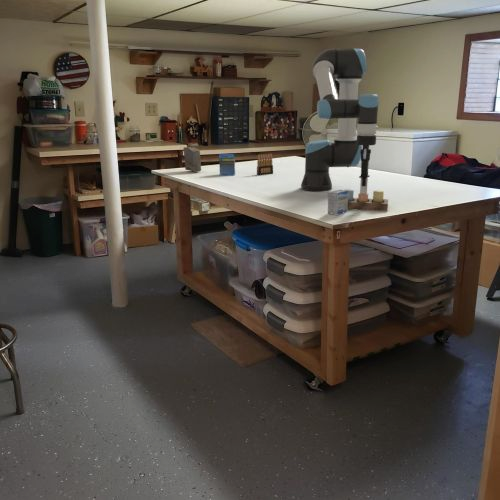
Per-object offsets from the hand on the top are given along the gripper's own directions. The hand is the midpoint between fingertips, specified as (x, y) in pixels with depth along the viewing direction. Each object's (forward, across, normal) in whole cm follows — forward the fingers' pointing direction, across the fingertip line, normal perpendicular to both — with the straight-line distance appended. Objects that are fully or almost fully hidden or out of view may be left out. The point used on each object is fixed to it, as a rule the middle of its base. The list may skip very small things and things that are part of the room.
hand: (363, 193), depth 212 cm
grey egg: (+4, 0, +6) cm, 7 cm away
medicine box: (+6, -11, +9) cm, 16 cm away
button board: (+6, 0, 0) cm, 6 cm away
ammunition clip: (+6, +78, +61) cm, 99 cm away
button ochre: (+4, 0, -6) cm, 7 cm away
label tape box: (+6, +72, +82) cm, 109 cm away
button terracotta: (+6, 0, 0) cm, 6 cm away
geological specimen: (+6, +78, +106) cm, 132 cm away
